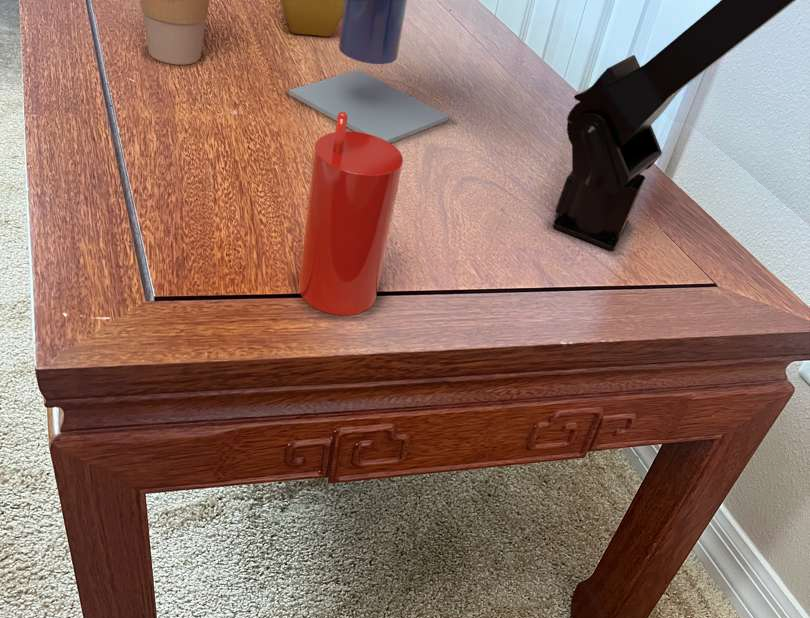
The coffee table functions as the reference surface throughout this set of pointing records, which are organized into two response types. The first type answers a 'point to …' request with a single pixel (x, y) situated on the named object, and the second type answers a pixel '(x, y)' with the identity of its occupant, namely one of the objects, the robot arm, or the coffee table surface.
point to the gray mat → (369, 105)
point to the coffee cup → (175, 29)
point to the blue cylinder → (372, 30)
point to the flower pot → (313, 16)
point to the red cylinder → (348, 219)
